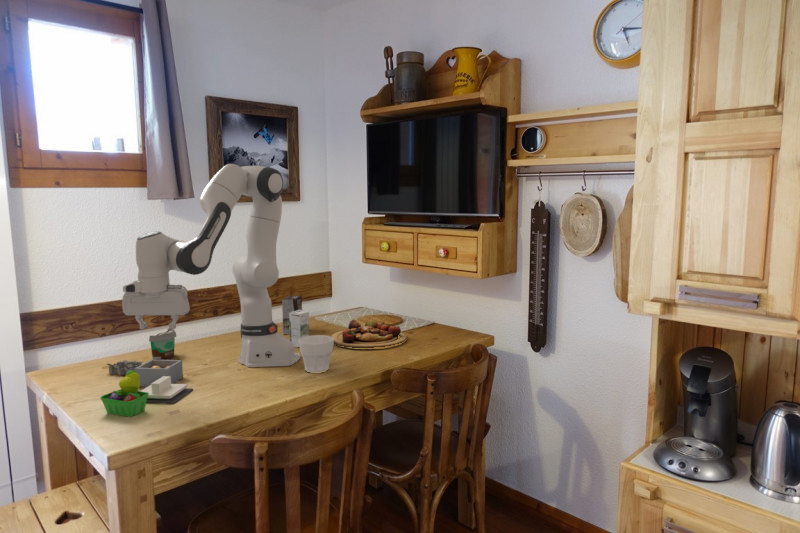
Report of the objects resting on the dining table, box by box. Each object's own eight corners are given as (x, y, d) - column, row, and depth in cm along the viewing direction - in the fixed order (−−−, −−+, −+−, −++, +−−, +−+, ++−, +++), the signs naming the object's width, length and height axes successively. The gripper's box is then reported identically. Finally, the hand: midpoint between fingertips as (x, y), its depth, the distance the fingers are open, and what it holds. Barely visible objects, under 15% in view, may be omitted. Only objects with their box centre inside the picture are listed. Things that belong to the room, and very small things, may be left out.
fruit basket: (99, 414, 162) (96, 376, 161) (124, 403, 171) (122, 367, 169) (130, 419, 158) (127, 380, 157) (154, 408, 166) (152, 370, 165)
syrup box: (299, 344, 236) (297, 309, 235) (310, 345, 233) (309, 310, 232) (289, 347, 231) (288, 312, 230) (301, 349, 228) (299, 313, 227)
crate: (183, 377, 194) (182, 360, 194) (167, 387, 185) (166, 369, 184) (152, 376, 196) (151, 359, 195) (135, 386, 186) (134, 368, 185)
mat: (192, 390, 181) (192, 388, 181) (173, 404, 170) (173, 402, 170) (151, 388, 183) (151, 387, 183) (129, 402, 171) (129, 400, 171)
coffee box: (296, 335, 251) (295, 299, 249) (282, 334, 252) (281, 299, 250) (303, 330, 260) (302, 295, 258) (289, 329, 261) (288, 295, 259)
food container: (165, 363, 211) (163, 336, 210) (150, 362, 213) (148, 335, 211) (184, 353, 223) (182, 328, 222) (170, 353, 225) (168, 328, 223)
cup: (303, 377, 193) (302, 345, 192) (295, 367, 204) (294, 337, 203) (339, 372, 198) (338, 341, 197) (329, 363, 209) (328, 333, 208)
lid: (187, 389, 181) (186, 375, 180) (171, 400, 170) (170, 386, 170) (153, 388, 182) (152, 374, 181) (135, 399, 172) (134, 384, 171)
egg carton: (105, 374, 199) (104, 363, 199) (121, 368, 206) (120, 357, 206) (130, 377, 196) (129, 365, 196) (146, 370, 203) (145, 359, 203)
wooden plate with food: (357, 356, 219) (357, 335, 218) (316, 339, 244) (316, 320, 243) (422, 344, 238) (422, 324, 237) (378, 329, 263) (378, 311, 262)
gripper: (191, 283, 178) (194, 326, 180) (129, 283, 180) (133, 326, 182) (181, 286, 172) (185, 331, 174) (117, 287, 174) (121, 331, 176)
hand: (158, 328), depth 178 cm, fingers open, 8 cm apart
